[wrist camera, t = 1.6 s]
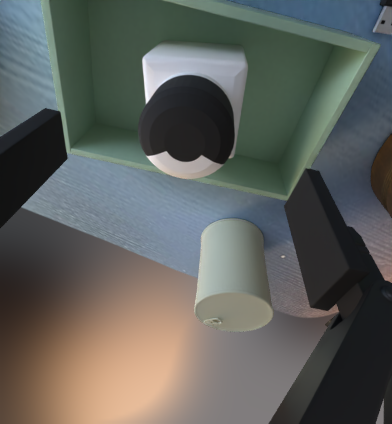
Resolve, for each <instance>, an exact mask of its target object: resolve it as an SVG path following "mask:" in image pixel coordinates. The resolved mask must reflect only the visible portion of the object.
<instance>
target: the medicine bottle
mask: <svg viewBox="0 0 392 424" xmlns="http://www.w3.org/2000/svg"><path fill="white" fill-rule="evenodd" d="M142 62H143V74H144V86H145V98H146V105H145V107H144V109H143V111H142V113H141V115H140V118H139V123H138V135H139V141H140V144H141V147H142V149H143V151H144V153H145V155H146V156H147V157H148V159H149V160H150V161H151V162H152V163H153V164H154V165H155V166H156V167H157V168H158V169H160V170H161V171H163V172H165V173H167V174H169V175H171V176H174V177H178V178H184V179H196V178H201V177H205V176H207V175H210V174H212V173H214V172H215V171H217V170H218V169H219V168H221V167H222V166H223V165H224V164H225V162H226V161H227V160H228V158H232V157H233V156H234V154H235V148H236V142H237V136H238V129H239V123H240V116H241V110H242V104H243V97H244V91H245V84H246V78H247V71H248V64H247V60H246V56H245V53H244V49H243V47H242V46H241V45H230V44H215V43H199V42H184V41H168V40H164V41H162V42H161V43H159V44H158V45H157V46H156V47H154V48H153V49H152V50H151V51H150V52H148V53H147V54H146V55H145V56H144V57H143V60H142Z"/></svg>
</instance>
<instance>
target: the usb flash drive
mask: <svg viewBox="0 0 392 424" xmlns="http://www.w3.org/2000/svg"><path fill="white" fill-rule="evenodd" d="M380 5H382V6H384V8H383V10H382V12H381V14H380V16H379V18H378V20H377V22H376V25H375V27H374V29H373V31H372V32H377V33H383V34H389V35H391V34H392V0H381V3H380Z"/></svg>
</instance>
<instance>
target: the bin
mask: <svg viewBox="0 0 392 424" xmlns="http://www.w3.org/2000/svg"><path fill="white" fill-rule="evenodd" d="M41 6H42V12H43V18H44V25H45V31H46V37H47V43H48V50H49V56H50V62H51V69H52V75H53V81H54V87H55V94H56V100H57V106H58V111H60V112H61V118H62V125H63V131H64V138H65V144H66V151H67V153H70V154H74V155H79V156H83V157H88V158H93V159H97V160H102V161H106V162H111V163H115V164H120V165H125V166H129V167H134V168H138V169H143V170H148V171H152V172H157V173H161V174H166V175H169V174H167V173H165V172H163V171H161V170H160V169H158V168H157V167H156V166H155V165H154V164H153V163H152V162H151V161H150V160H149V159H148V157H147V156H146V155H145V153H144V151H143V149H142V147H141V144H140V141H139V135H138V123H139V118H140V115H141V113H142V111H143V109H144V107H145V105H146V98H145V86H144V74H143V62H142V60H143V57H144V56H145V55H146V54H147V53H148V52H150V51H151V50H152V49H153V48H154V47H156V46H157V45H158V44H159V43H161V42H162V41H164V40H168V41H184V42H199V43H215V44H230V45H241V46H242V47H243V49H244V53H245V56H246V60H247V64H248V71H247V78H246V84H245V91H244V97H243V104H242V110H241V116H240V123H239V129H238V136H237V142H236V148H235V154H234V156H233V157H232V158H228V160H227V161H226V162H225V164H224V165H223V166H222V167H221V168H219V169H218V170H217V171H215V172H214V173H212V174H210V175H207V176H205V177H201V178H196V179H189V180H194V181H198V182H203V183H207V184H212V185H217V186H221V187H226V188H230V189H235V190H239V191H244V192H249V193H253V194H258V195H262V196H267V197H272V198H276V199H281V200H286V201H287V200H288V198H289V197H290V195H291V193H292V191H293V190H294V188H295V186H296V184H297V182H298V181H299V179H300V177H301V175H302V173H303V172H304V170H305V168H308V169H310V167H311V166H312V164H313V162H314V161H315V159H316V157H317V155H318V154H319V152H320V150H321V148H322V147H323V145H324V143H325V142H326V140H327V138H328V136H329V135H330V133H331V131H332V129H333V128H334V126H335V124H336V123H337V121H338V119H339V117H340V116H341V114H342V112H343V110H344V109H345V107H346V105H347V103H348V102H349V100H350V98H351V97H352V95H353V93H354V91H355V90H356V88H357V86H358V84H359V83H360V81H361V79H362V78H363V76H364V74H365V72H366V71H367V69H368V67H369V65H370V64H371V62H372V60H373V59H374V57H375V55H376V53H377V52H378V50H379V48H380V46H381V45H380V44H378V43H375V42H372V41H370V40H367V39H364V38H362V37H359V36H356V35H353V34H351V33H348V32H345V31H341V30H337V29H333V28H329V27H326V26H322V25H318V24H314V23H311V22H307V21H303V20H299V19H295V18H292V17H288V16H284V15H280V14H276V13H273V12H269V11H265V10H261V9H257V8H254V7H250V6H246V5H242V4H239V3H235V2H231V1H227V0H41Z"/></svg>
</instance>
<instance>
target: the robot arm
mask: <svg viewBox="0 0 392 424" xmlns="http://www.w3.org/2000/svg"><path fill="white" fill-rule="evenodd" d="M67 159H68V158H67V151H66V144H65V138H64V131H63V125H62V118H61V112H60V111H55V110H51V109H47V108H45V109H43V110H42V111H40V112H39V113H37V114H35V115H34V116H32V117H31V118H29V119H28V120H26V121H24V122H23V123H21V124H20V125H18V126H17V127H15V128H13V129H12V130H10V131H9V132H7V133H6V134H4V135H2V136H1V137H0V228H1V227H2V226H3V225H4V224H5V223H6V222H7V221H8V220H9V219H10V218H11V217H12V216H13V215H14V214H15V213H16V212H17V211H18V210H19V209H20V207H21V206H22V205H23V204H24V203H25V202H26V201H27V200H28V199H29V198H30V197H31V196H32V195H33V194H34V193H35V192H36V191H37V190H38V189H39V188H40V187H41V186H42V185H43V184H44V183H45V182H46V181H47V179H48V178H49V177H50V176H51V175H52V174H53V173H54V172H55V171H56V170H57V169H58V168H59V167H60V166H61V165H62V164H63V163H64V162H65V161H66V160H67ZM284 208H285V212H286V215H287V219H288V223H289V227H290V231H291V235H292V238H293V242H294V246H295V250H296V254H297V258H298V261H299V265H300V269H301V273H302V277H303V281H304V284H305V288H306V292H307V296H308V300H309V304H310V307H311V308H316V309H321V310H326V311H328V310H330V309H331V308H332V307H333V306H334V305H335V304H337V307H338V309H339V313H338V314H337V315H336V316H334V317H333V318H332V319H331V320H330V321H329V322H327V323H326V324H325V325H326V326H327V327H328V328H327V329H326V332H325V333H324V335H323V336H322V338H321V339H320V341H319V343H318V344H317V346H316V348H315V349H314V351H313V352H312V354H311V356H310V357H309V359H308V360H307V362H306V364H305V365H304V367H303V369H302V370H301V372H300V374H299V375H298V377H297V378H296V380H295V382H294V383H293V385H292V387H291V388H290V390H289V391H288V393H287V395H286V396H285V398H284V400H283V401H282V403H281V404H280V406H279V408H278V409H277V411H276V413H275V414H274V416H273V417H272V419H271V421H270V422H269V424H376V421H377V417H378V414H379V411H380V408H381V405H382V401H383V399H384V424H392V283H391V282H389V281H385V280H384V278H383V276H382V274H381V273H380V271H379V269H378V267H377V265H376V263H375V261H374V260H373V258H372V256H371V255H370V254H369V253H370V252H369V250H368V249H367V247H365V246H366V245H365V243H364V241H363V239H362V237H361V236H360V235H359V234H358V233H357V232H356V231H355V230H354V229H353V228H352V227H349V226H347V225H346V223H345V221H344V220H343V218H342V216H341V214H340V212H339V210H338V208H337V206H336V204H335V202H334V200H333V198H332V196H331V194H330V192H329V190H328V188H327V186H326V184H325V182H324V180H323V178H322V176H321V174H320V172H319V171H316V170H312V169H308V168H305V170H304V172H303V173H302V175H301V177H300V179H299V181H298V182H297V184H296V186H295V188H294V190H293V191H292V193H291V195H290V197H289V198H288V200H287V202H286V204H285V206H284Z"/></svg>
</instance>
